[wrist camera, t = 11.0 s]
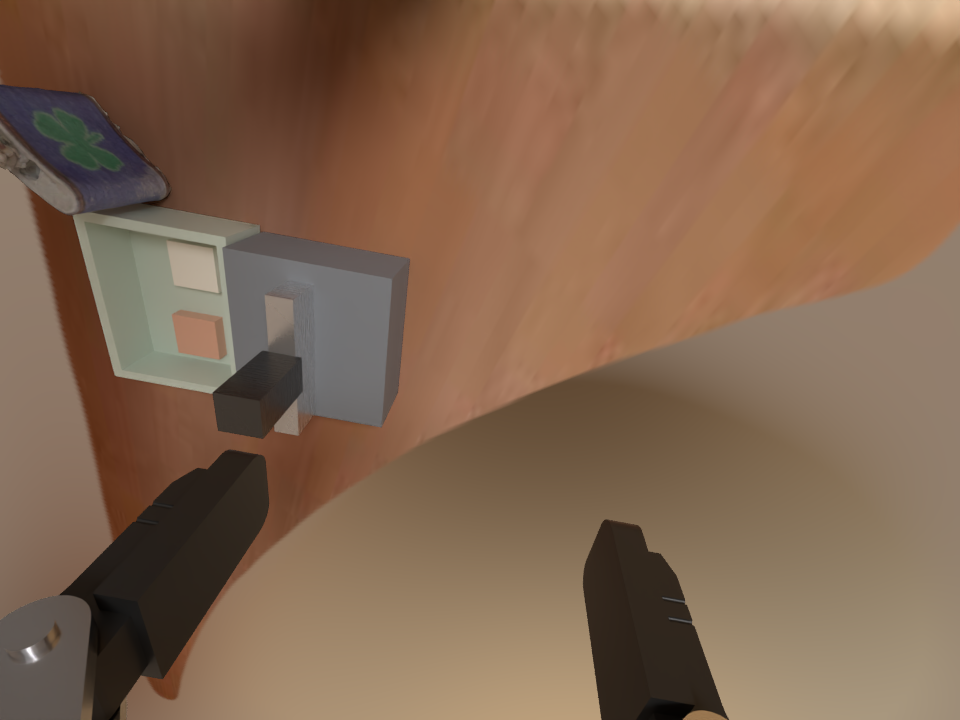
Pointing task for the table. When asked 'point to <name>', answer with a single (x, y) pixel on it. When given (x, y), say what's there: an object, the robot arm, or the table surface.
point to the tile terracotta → (199, 334)
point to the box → (155, 290)
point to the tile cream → (194, 265)
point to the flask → (73, 152)
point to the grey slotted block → (327, 316)
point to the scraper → (275, 371)
